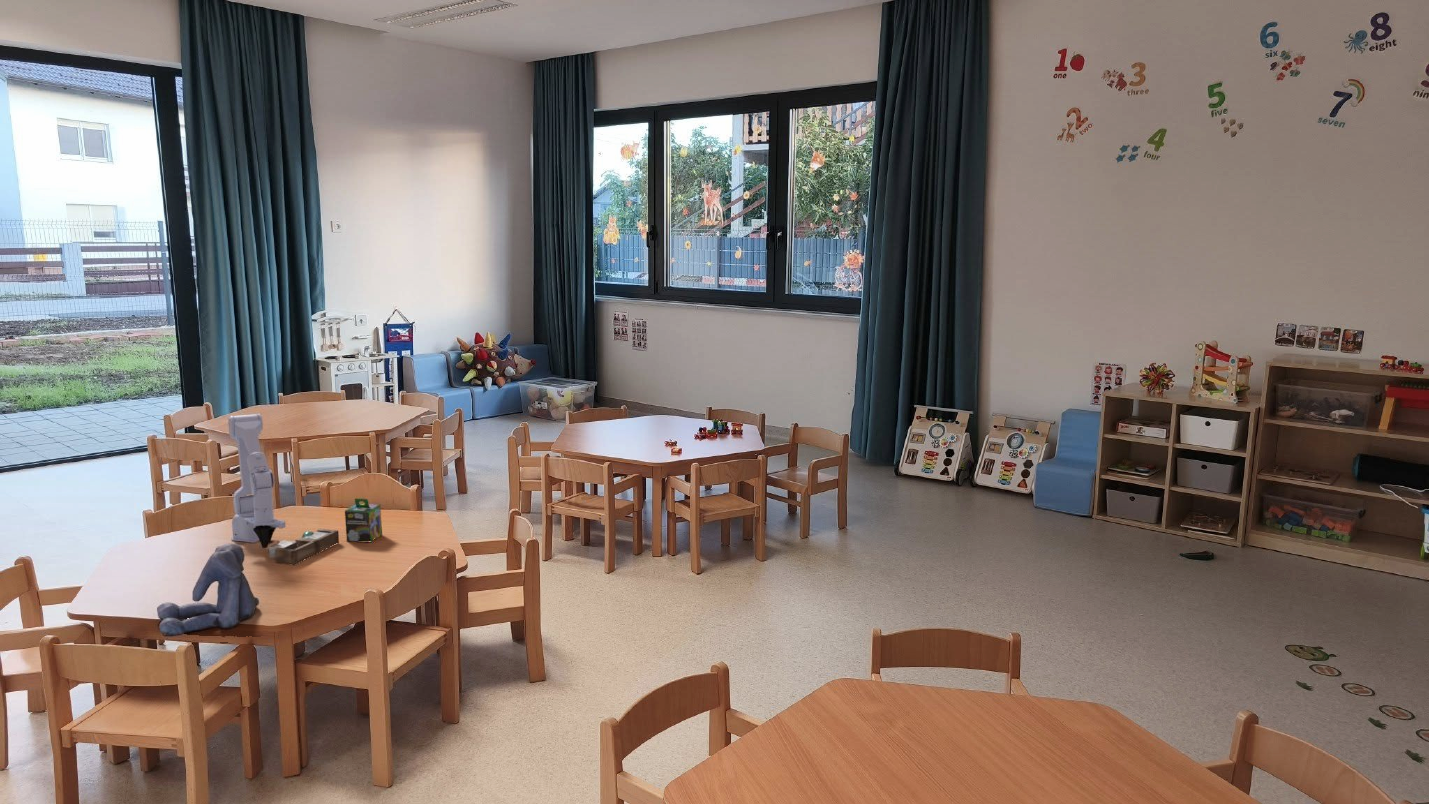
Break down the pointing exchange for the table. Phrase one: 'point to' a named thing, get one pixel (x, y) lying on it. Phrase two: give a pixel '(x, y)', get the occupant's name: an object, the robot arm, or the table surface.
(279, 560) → the grey brown divided tray
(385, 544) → the table surface
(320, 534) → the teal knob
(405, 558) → the table surface
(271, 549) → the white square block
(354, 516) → the chalk box
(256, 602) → the elephant
